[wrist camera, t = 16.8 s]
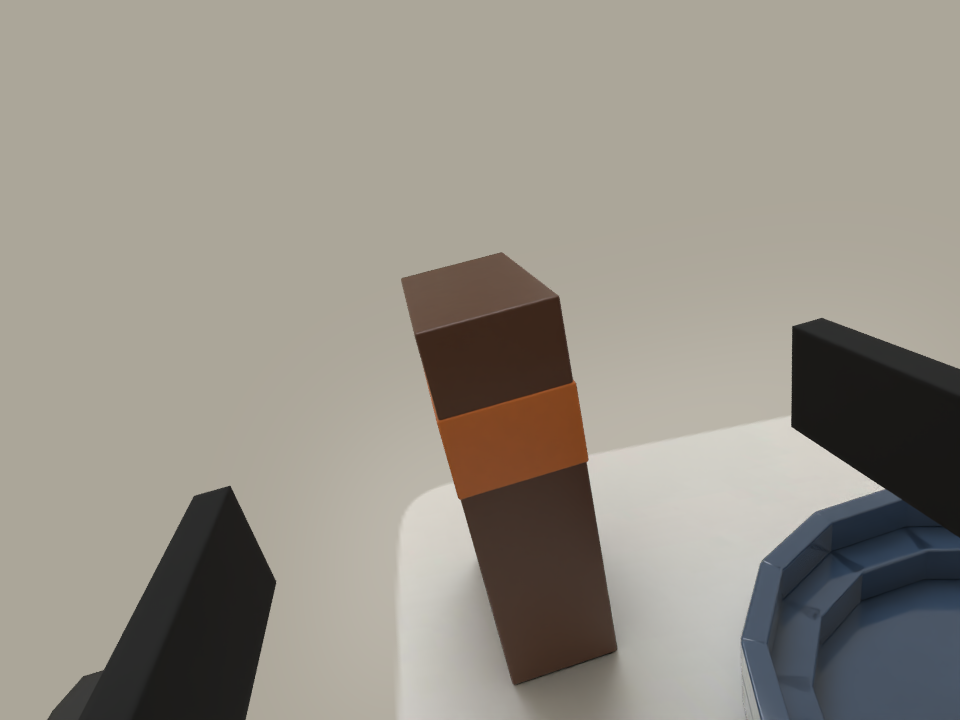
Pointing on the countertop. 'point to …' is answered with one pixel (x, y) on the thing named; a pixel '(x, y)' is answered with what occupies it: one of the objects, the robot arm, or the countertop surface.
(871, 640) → the bowl
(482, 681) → the countertop surface
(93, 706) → the robot arm
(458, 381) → the snack carton
